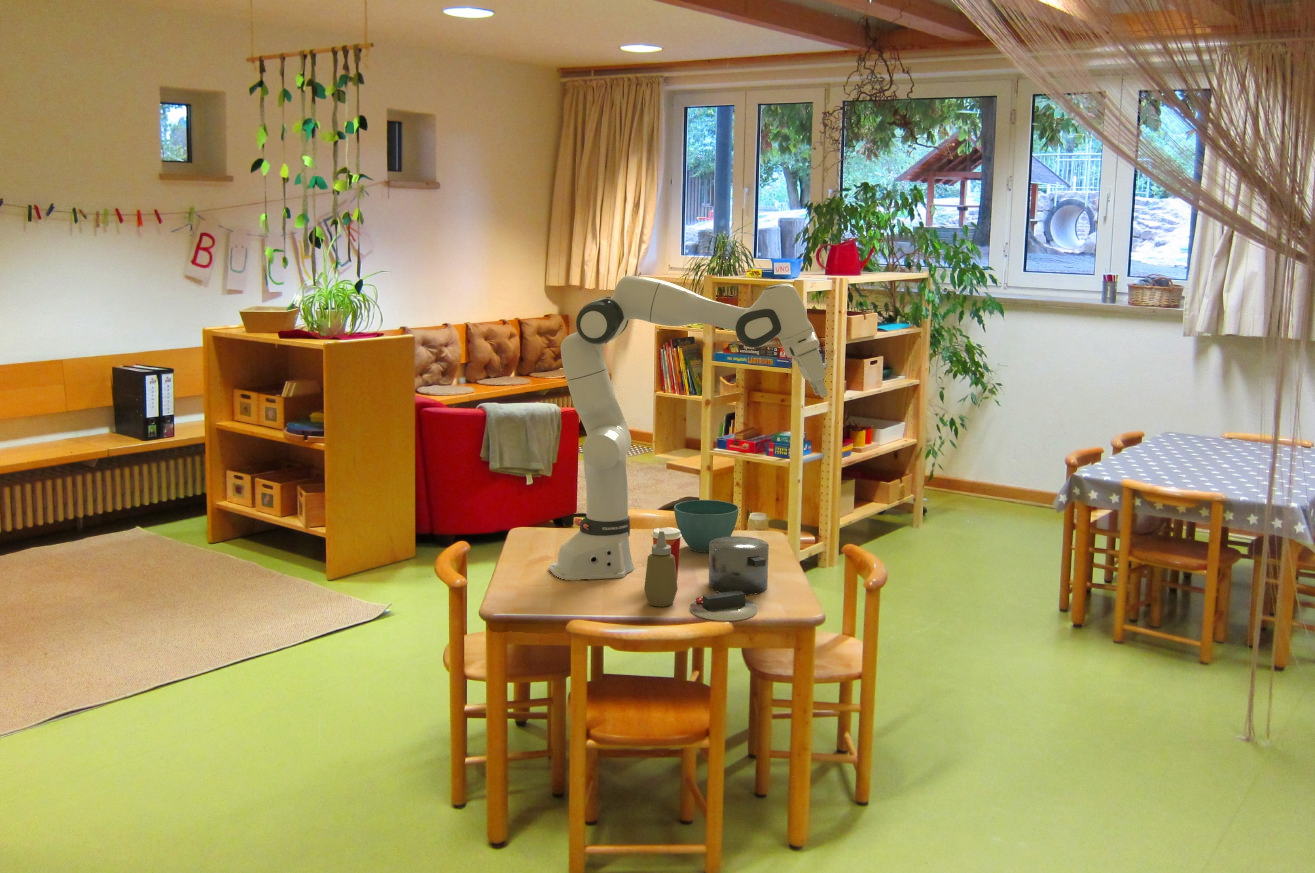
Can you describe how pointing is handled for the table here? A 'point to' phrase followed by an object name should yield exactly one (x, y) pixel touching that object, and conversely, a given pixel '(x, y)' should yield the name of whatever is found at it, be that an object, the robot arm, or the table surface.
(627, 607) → the table surface
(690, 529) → the teal bowl
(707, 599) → the lid
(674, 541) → the paper cup
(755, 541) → the pot
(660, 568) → the squeeze bottle
